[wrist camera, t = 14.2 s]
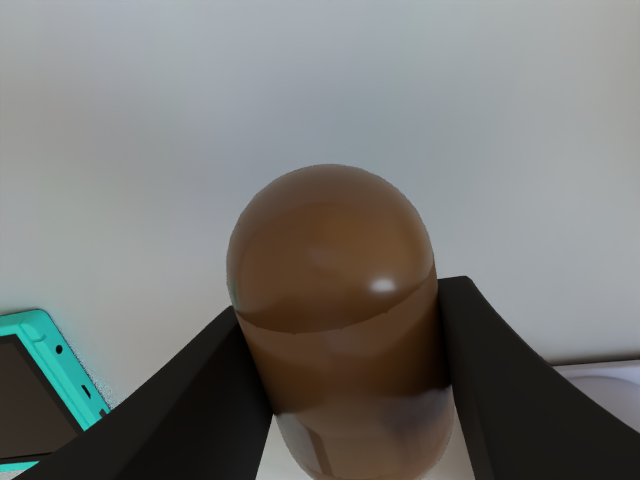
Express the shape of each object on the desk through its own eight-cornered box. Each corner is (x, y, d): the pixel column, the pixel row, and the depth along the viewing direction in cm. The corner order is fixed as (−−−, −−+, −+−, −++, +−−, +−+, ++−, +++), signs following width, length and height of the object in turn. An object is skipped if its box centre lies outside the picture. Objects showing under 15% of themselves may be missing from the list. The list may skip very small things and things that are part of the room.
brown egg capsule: (451, 391, 13) (476, 540, 10) (312, 401, 14) (287, 542, 10) (412, 121, 10) (428, 197, 6) (232, 156, 11) (157, 241, 7)
